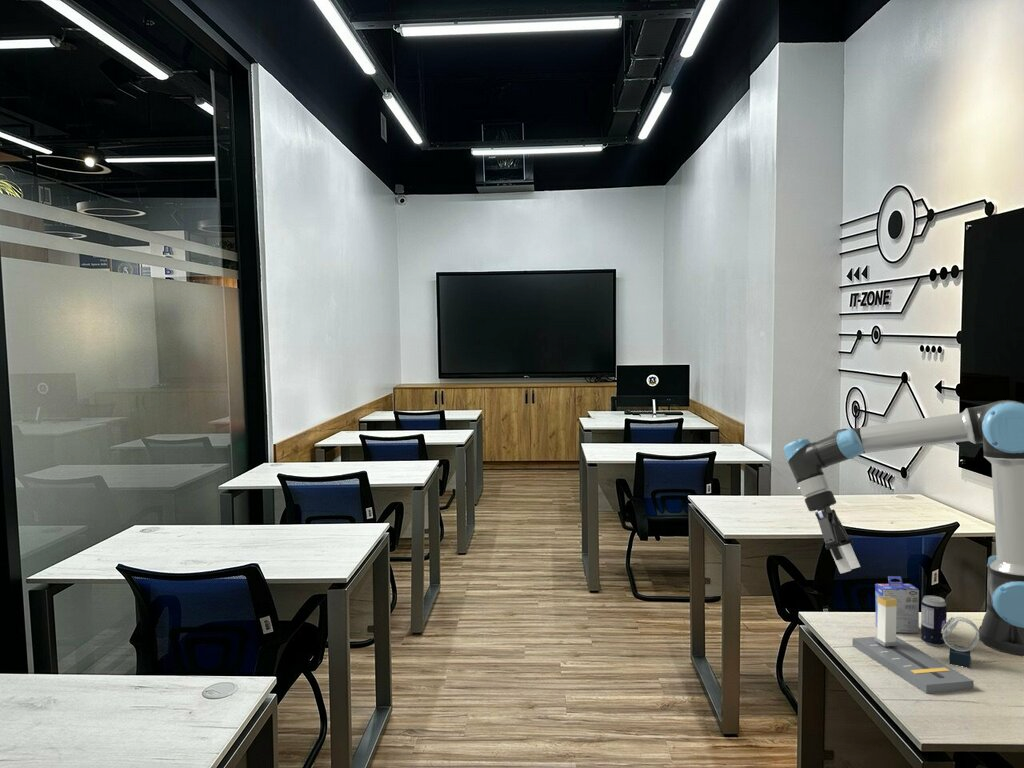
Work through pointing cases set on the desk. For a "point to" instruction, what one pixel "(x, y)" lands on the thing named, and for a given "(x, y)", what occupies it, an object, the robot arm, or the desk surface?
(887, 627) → the fader handle
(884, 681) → the desk surface
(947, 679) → the fader console
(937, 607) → the beverage can
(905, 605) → the ink cartridge box
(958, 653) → the watch
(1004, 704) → the desk surface
